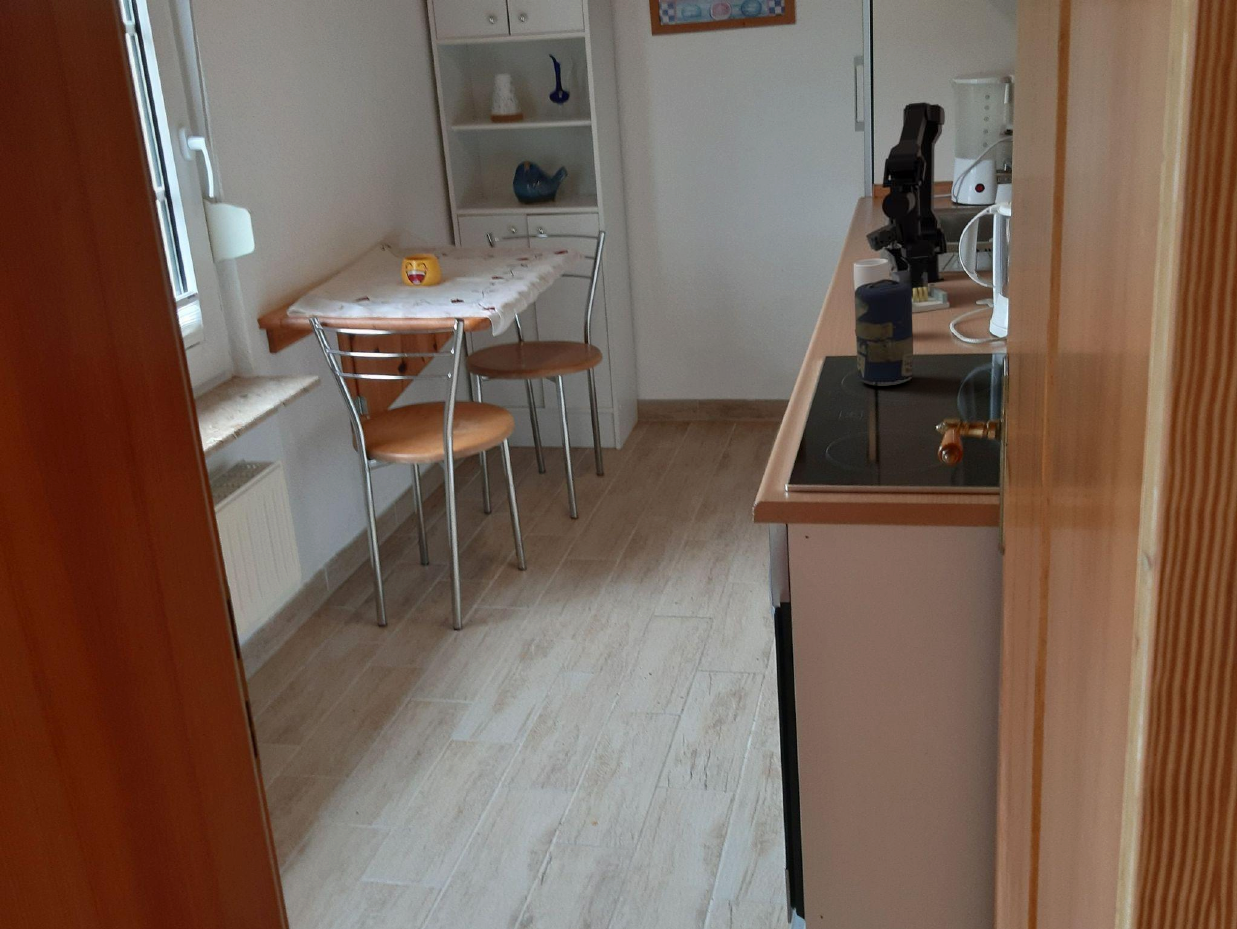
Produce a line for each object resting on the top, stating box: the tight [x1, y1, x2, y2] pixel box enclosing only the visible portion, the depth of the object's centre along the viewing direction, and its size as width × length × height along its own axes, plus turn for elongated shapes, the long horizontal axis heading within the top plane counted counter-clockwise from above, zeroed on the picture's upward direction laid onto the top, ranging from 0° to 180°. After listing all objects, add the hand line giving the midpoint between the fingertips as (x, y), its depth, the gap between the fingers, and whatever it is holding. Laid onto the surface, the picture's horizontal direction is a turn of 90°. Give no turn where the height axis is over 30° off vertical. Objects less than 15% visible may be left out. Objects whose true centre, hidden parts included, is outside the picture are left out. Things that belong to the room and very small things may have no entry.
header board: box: [912, 283, 950, 314], centre depth 260 cm, size 18×11×4 cm, turn 5°
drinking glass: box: [853, 258, 891, 292], centre depth 234 cm, size 7×7×15 cm
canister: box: [854, 278, 915, 383], centre depth 204 cm, size 10×10×18 cm
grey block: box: [891, 269, 929, 293], centre depth 261 cm, size 6×6×5 cm
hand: (908, 283), depth 262 cm, fingers open, 8 cm apart
